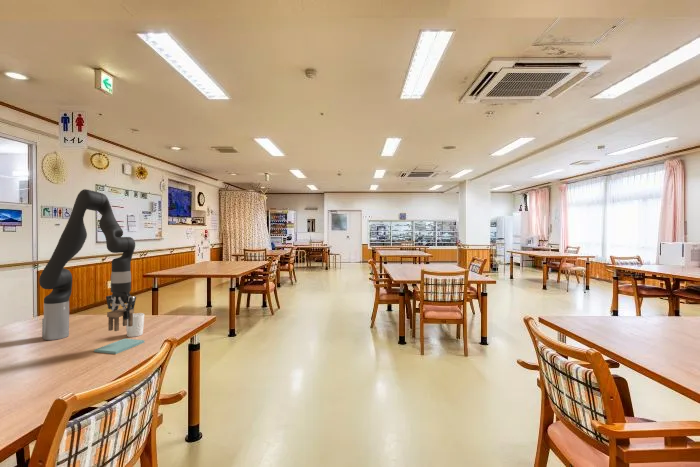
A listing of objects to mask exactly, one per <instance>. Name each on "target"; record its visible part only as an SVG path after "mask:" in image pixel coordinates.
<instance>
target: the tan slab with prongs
mask: <svg viewBox="0 0 700 467" xmlns="http://www.w3.org/2000/svg"><path fill="white" fill-rule="evenodd" d="M134 313H135V308H134V309H132V310H130V314H129V315H130V317H129V319H128V326H130V327H131V326H133V314H134ZM113 317H114V319H113ZM120 317H122V327H126V326H127V319H126V320H124V319H123V317H124V310H123V307H122V308H118V310H115V311H112V310H111V311H108V312H106V318H108V323H107V324H108V326H107V327H108V329H107V330H108V331H114V332H118V331H119V330H120Z"/></svg>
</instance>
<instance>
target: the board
mask: <svg viewBox="0 0 700 467" xmlns="http://www.w3.org/2000/svg"><path fill="white" fill-rule="evenodd" d="M142 344H145V340H144V339H133V338H123V339H120V340H117V341H114V342H111V343H109V344H106V345H103V346H100V347H97V348H94V351H93V352H94V353H102V354H103V353H104V354H112V355H116V354H120V353H122V352H124V351H128V350H129V349H132V348H134V347H136V346H139V345H142Z"/></svg>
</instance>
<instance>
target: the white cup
mask: <svg viewBox="0 0 700 467" xmlns="http://www.w3.org/2000/svg"><path fill="white" fill-rule="evenodd" d="M144 326H145V313H143V312H137V313H135V312H134V313H133V326H131V327H130V326H128V319H127V326H125V328H126V336H127V337H128V338H134V337H140V336H142V335H143V334H144Z"/></svg>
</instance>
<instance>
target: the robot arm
mask: <svg viewBox="0 0 700 467" xmlns="http://www.w3.org/2000/svg"><path fill="white" fill-rule="evenodd" d="M72 207H73V208H72V209H71V213H70V215H69V218H68V221H67V223H66V225H65V227H64V229H63V231H62V233H61V236H60V237H59V240H58V242H57V245H56V246H55V249H54V250H53V253H52V255H51V256H50V259H49V260H48V262H47V264H46V265H45V267H44V268H43V269H42V272H41V273H40V275H39V279H38V283H39V286H40V287H41V288H42V289H43V290H52V291H51V292H50V293H49V294H48V295H46V296H44V298H43V318H42V320H41V321H42V323H41V326H42V328H41V329H42V330H41V331H42V332H41V336H42V337H41V339H43V340H45V341H53V340H60V339H64V338H67V337H69V335H70V297H71V295H72V291H73V288H72V287H73V275H72V273H71V271H70V270H69V269H67V268H65V266H66V265H67V263H68V262H70V260H72V259H73V258H74V257H75V256H76V255H77V254H78V253H79V252H80V251H81V250H82V248H83V247H84V245H85V242H86V240H87V238H88V233H87V229H86V225H85V223H84V217H85V214H86V211H87V210H89V211H93V212H98V213H99V214H100V215H101V217H100V220H99V222H98V224H99V228H100V230H101V232H102V234H103V235H104V237H105V243H106V248H107V251H109V252H110V253H113V254H117V253H118V254H119V253H120V254H121V253H122V255H121V256H119V257H115V258H113V259H112V260H111V274H110V293H111V295H106V297H105V300H106V305H107V309H108V310H111V311H115V310H118V309H120V307H122V308H123V310H124V317H123V316H122V320H123V319H124V320H126V319H129V317H130V315H129V314H130V310H132V309H134V310H135V304H136V300H137V296H133V295H131V294H130V293H131V290H132V270H131V268H132V267H131V266H132V265H131V262H132V257H133V256H134V255H133V254H134V252H135V249H136V242H135V239H134V238H133V237H130V236H123V235H124V230H123V228H122V227H121V226H120V224H119V223H118V221H117V219H116V217H115V215H114V212H113V209H112V206H111V203H110V199H108V197H107V195H106V194H104V193H102V192H98V191H95V190H90V189H86V188H85V189H84V188H83V189H81V190H80V192H78V194H77V196H76V198H75V201H74V203H73V206H72ZM113 320H114V317H113Z"/></svg>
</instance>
